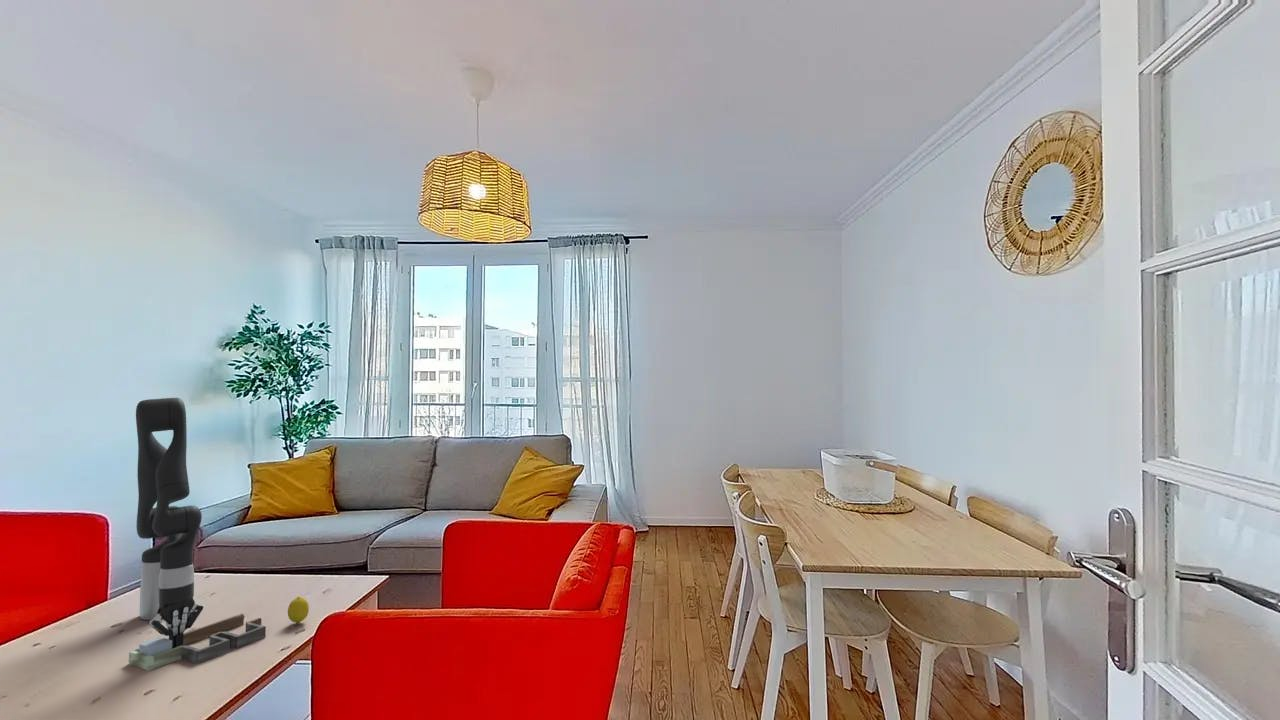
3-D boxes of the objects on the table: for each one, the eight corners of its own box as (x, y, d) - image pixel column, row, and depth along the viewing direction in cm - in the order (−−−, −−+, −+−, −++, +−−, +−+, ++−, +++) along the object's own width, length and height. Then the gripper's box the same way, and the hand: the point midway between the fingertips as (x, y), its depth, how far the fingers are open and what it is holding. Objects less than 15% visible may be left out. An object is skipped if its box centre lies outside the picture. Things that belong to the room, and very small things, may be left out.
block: (138, 664, 159) (139, 644, 159) (160, 656, 164) (160, 636, 164) (150, 667, 157) (150, 647, 157) (171, 659, 162) (172, 640, 162)
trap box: (128, 663, 159) (129, 652, 159) (241, 623, 186) (241, 613, 186) (165, 676, 153) (166, 663, 153) (277, 632, 179) (277, 622, 179)
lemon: (299, 628, 182) (299, 600, 183) (283, 626, 183) (283, 599, 184) (312, 620, 188) (313, 594, 188) (297, 619, 189) (297, 592, 189)
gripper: (194, 573, 173) (193, 636, 173) (140, 588, 161) (139, 655, 160) (211, 576, 170) (210, 640, 169) (157, 592, 158) (156, 661, 157)
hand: (175, 647), depth 165 cm, fingers closed
